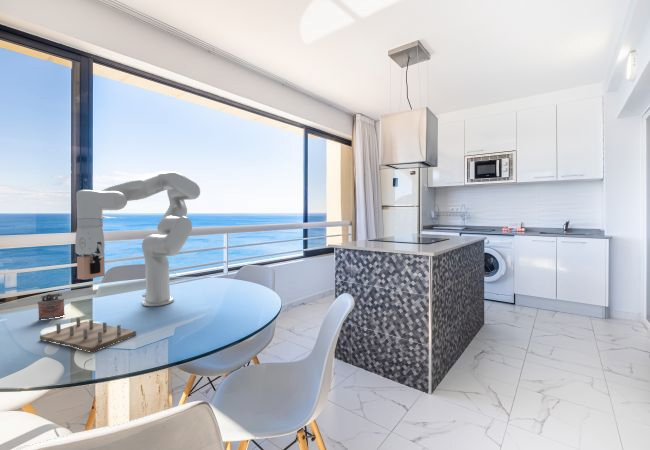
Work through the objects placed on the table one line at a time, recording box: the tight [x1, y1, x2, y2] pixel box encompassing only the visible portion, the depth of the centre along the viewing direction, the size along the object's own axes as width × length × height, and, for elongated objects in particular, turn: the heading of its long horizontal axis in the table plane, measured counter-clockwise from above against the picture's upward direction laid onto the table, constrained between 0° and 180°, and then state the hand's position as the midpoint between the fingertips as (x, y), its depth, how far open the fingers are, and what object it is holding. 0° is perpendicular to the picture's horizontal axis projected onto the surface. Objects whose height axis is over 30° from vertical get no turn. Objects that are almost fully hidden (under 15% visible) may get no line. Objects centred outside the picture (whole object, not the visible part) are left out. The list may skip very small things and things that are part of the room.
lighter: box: [37, 292, 66, 320], centre depth 121 cm, size 8×3×10 cm, turn 117°
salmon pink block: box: [76, 255, 106, 280], centre depth 113 cm, size 4×7×8 cm, turn 157°
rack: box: [39, 316, 137, 353], centre depth 102 cm, size 26×14×4 cm, turn 69°
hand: (91, 272), depth 113 cm, fingers closed on salmon pink block, 4 cm apart
